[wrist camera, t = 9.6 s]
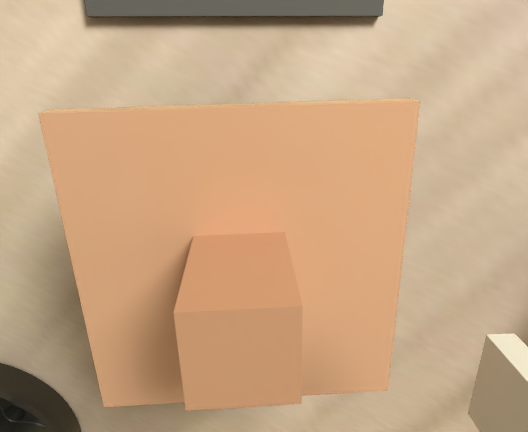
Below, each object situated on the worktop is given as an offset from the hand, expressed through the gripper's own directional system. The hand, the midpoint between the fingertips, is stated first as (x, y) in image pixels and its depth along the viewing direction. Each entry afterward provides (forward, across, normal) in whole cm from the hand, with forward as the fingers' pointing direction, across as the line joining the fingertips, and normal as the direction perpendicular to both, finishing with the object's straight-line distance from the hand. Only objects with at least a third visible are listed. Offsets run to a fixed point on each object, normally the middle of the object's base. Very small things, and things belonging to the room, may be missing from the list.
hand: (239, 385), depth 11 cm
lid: (+7, 0, 0) cm, 7 cm away
